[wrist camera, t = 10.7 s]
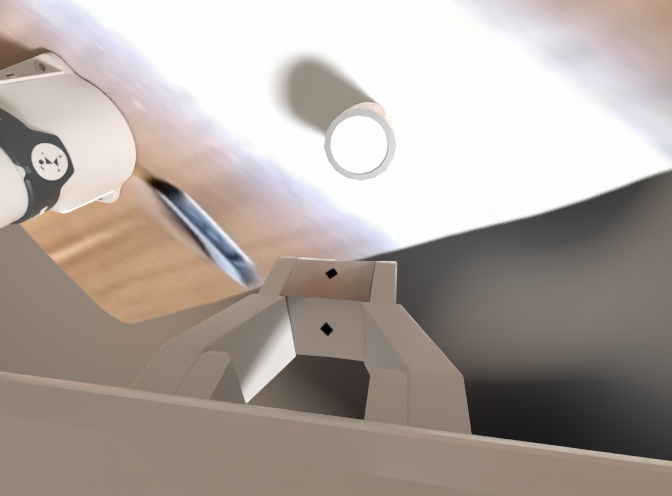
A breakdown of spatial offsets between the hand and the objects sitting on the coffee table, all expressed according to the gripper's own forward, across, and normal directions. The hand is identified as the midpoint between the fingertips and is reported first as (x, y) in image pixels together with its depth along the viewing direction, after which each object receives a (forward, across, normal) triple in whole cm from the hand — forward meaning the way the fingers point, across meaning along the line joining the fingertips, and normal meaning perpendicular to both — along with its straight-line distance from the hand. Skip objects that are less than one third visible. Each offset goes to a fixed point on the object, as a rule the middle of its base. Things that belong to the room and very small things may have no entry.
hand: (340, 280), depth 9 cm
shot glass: (+33, +3, +4) cm, 34 cm away
